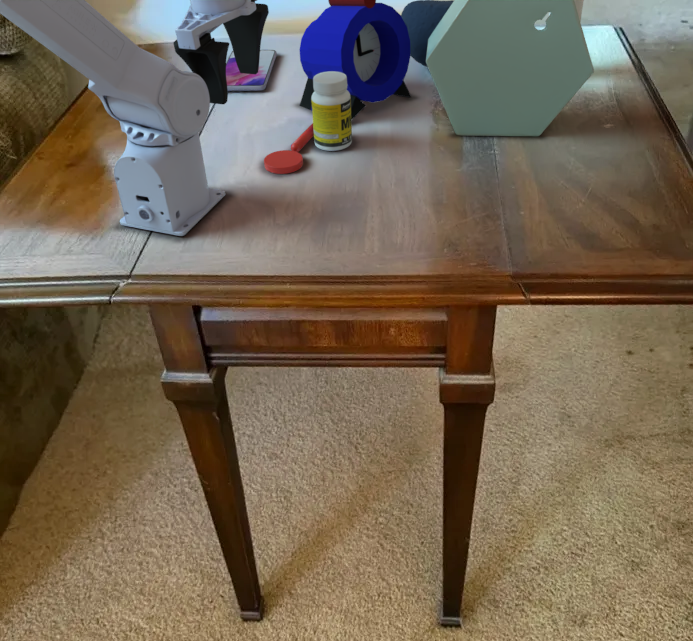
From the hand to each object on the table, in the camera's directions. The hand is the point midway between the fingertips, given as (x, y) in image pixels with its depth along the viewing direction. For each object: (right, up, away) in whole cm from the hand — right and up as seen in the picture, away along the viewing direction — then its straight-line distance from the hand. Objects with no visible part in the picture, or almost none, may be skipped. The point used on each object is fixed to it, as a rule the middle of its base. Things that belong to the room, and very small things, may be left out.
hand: (234, 87), depth 86 cm
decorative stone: (+27, +11, +28) cm, 40 cm away
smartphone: (-2, +11, +29) cm, 31 cm away
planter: (+32, -1, +12) cm, 34 cm away
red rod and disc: (+7, -5, +8) cm, 12 cm away
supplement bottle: (+11, -4, +9) cm, 15 cm away
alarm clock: (+13, +4, +20) cm, 24 cm away
